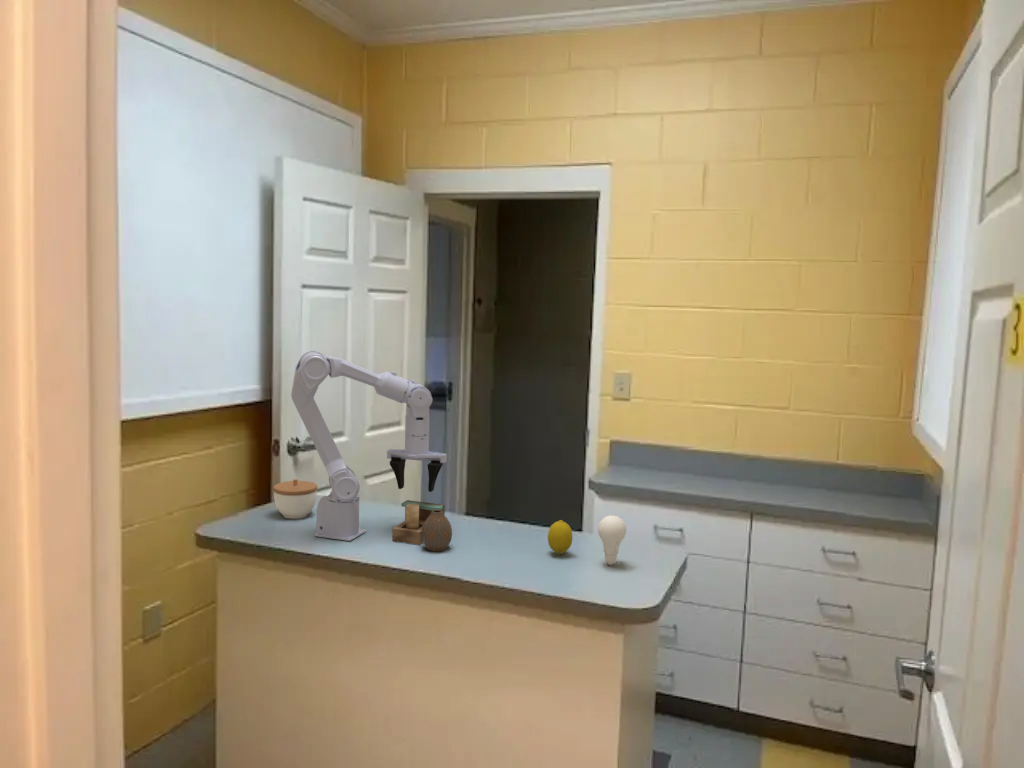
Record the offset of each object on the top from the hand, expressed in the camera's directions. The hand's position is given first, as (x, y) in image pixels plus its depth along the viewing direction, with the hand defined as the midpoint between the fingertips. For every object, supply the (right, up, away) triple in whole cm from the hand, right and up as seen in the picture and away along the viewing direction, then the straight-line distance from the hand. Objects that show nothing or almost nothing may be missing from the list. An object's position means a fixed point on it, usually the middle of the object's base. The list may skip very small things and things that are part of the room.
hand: (416, 489), depth 188 cm
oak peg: (0, -11, -5) cm, 12 cm away
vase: (+6, -12, -11) cm, 17 cm away
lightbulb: (+45, -14, -18) cm, 50 cm away
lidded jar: (-32, -8, +10) cm, 35 cm away
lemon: (+34, -13, -12) cm, 39 cm away
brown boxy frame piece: (0, -11, -3) cm, 11 cm away
